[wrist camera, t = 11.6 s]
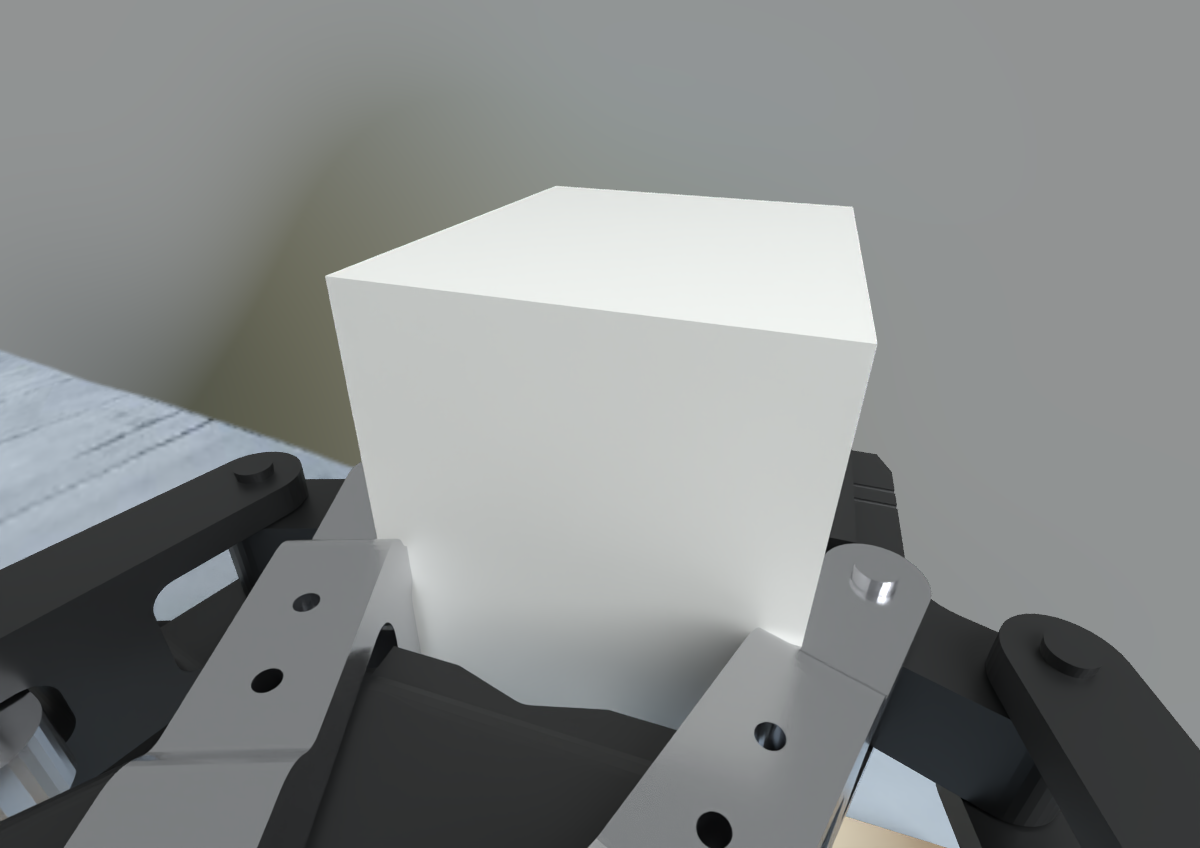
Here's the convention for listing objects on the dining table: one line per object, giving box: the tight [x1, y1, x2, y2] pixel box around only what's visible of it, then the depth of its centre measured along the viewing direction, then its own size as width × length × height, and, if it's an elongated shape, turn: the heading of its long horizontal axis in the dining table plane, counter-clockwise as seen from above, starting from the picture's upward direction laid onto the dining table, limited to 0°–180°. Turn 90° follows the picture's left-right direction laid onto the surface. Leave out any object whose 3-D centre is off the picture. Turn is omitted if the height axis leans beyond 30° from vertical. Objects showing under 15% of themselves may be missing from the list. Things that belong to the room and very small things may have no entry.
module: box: [325, 186, 877, 730], centre depth 11 cm, size 5×7×11 cm
